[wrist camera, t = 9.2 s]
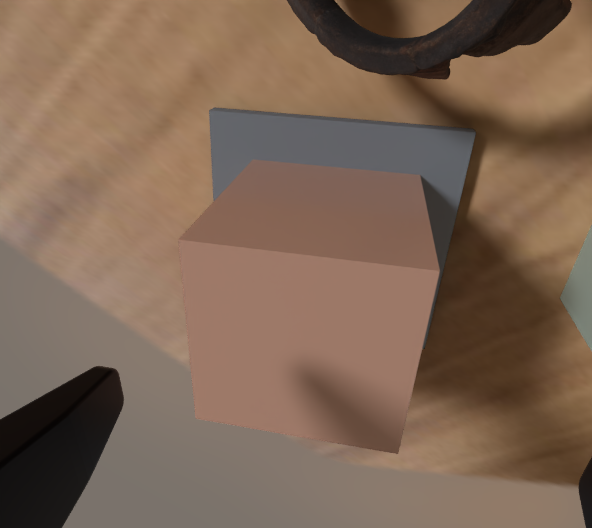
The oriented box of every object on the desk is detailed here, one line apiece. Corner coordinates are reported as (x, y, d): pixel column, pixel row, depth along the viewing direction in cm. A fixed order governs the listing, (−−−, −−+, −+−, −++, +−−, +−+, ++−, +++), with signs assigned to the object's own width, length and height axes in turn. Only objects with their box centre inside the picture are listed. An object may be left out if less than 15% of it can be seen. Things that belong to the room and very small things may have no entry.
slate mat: (473, 129, 17) (475, 132, 16) (423, 340, 22) (424, 348, 21) (214, 107, 18) (209, 110, 17) (223, 311, 23) (219, 318, 22)
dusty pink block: (420, 175, 17) (440, 270, 11) (394, 315, 20) (398, 453, 14) (253, 159, 18) (178, 239, 12) (253, 296, 21) (195, 418, 15)
